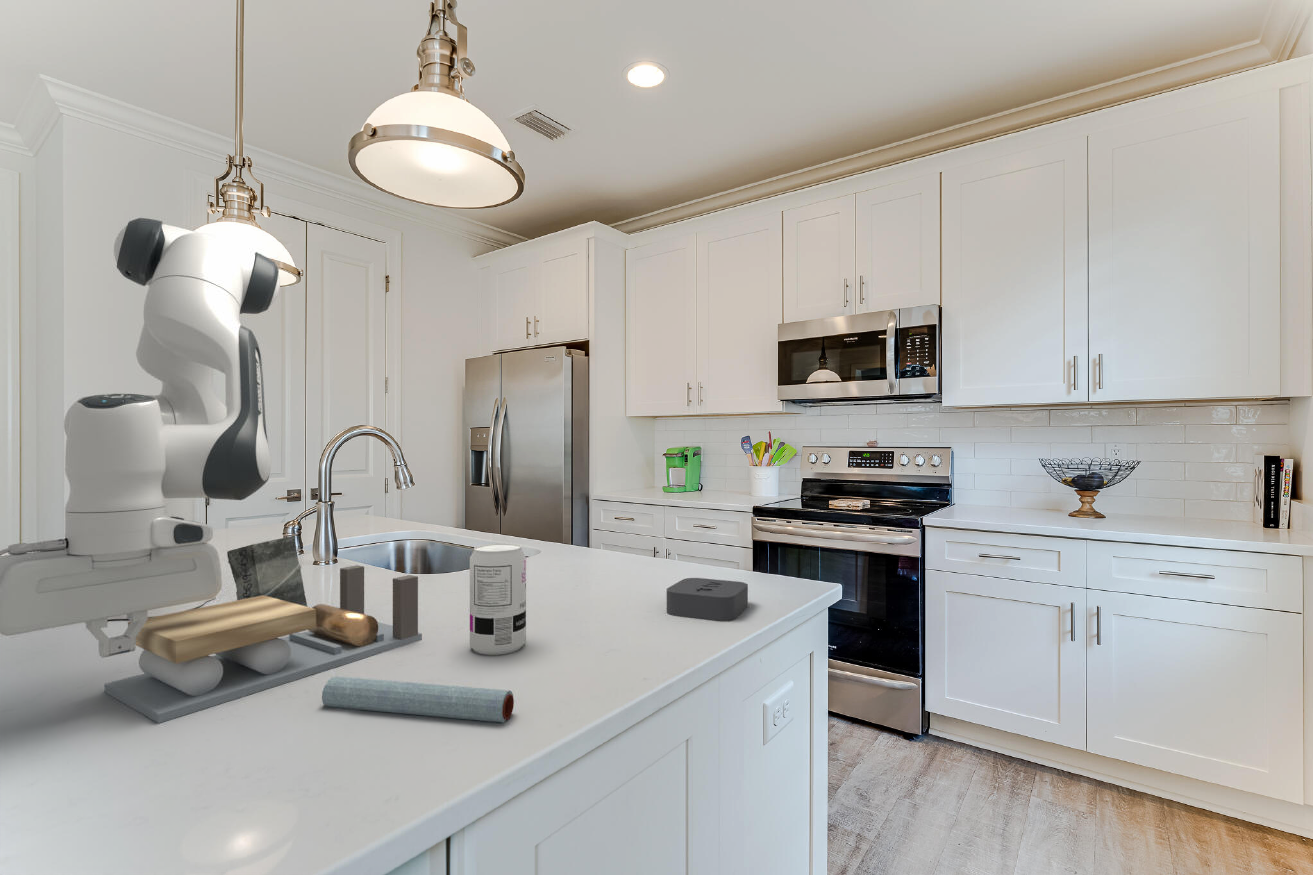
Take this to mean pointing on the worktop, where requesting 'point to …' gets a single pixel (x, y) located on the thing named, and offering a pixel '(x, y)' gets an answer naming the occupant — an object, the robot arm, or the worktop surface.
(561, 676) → the worktop surface
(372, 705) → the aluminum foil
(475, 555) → the supplement can
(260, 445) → the robot arm
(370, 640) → the copper roller
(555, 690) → the worktop surface
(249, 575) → the stone block
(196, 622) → the oak slab
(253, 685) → the roller bed
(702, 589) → the streaming box
